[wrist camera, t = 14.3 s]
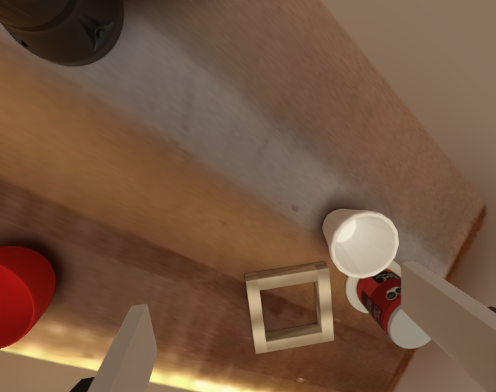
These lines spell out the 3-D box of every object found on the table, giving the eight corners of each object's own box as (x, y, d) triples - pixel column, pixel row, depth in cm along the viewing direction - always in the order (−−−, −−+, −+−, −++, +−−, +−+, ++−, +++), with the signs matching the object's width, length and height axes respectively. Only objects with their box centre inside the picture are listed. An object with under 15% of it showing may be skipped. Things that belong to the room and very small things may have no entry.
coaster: (343, 261, 51) (344, 262, 50) (403, 251, 52) (405, 252, 51) (346, 315, 53) (347, 317, 53) (403, 306, 54) (405, 308, 54)
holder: (244, 274, 50) (245, 281, 47) (323, 261, 51) (329, 268, 48) (254, 343, 53) (255, 353, 50) (328, 330, 54) (333, 340, 51)
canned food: (404, 274, 52) (451, 310, 41) (382, 311, 53) (423, 356, 43) (368, 259, 51) (408, 292, 40) (347, 297, 52) (380, 340, 41)
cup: (378, 224, 50) (413, 244, 41) (337, 264, 51) (362, 292, 42) (341, 185, 48) (369, 196, 39) (298, 227, 49) (316, 248, 40)
